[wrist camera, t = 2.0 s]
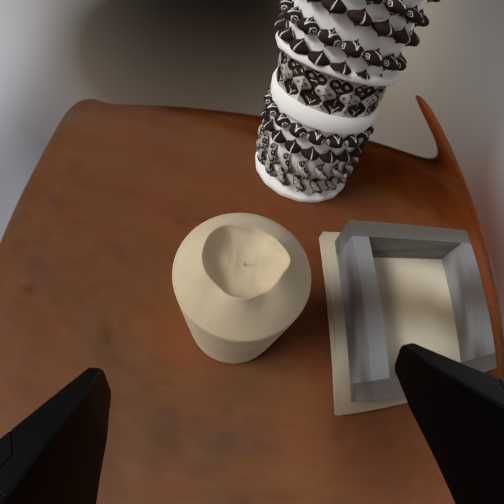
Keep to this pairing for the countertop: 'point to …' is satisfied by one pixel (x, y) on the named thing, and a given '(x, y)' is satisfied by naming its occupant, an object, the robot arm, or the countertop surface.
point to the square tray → (399, 306)
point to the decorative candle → (329, 89)
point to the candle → (240, 284)
